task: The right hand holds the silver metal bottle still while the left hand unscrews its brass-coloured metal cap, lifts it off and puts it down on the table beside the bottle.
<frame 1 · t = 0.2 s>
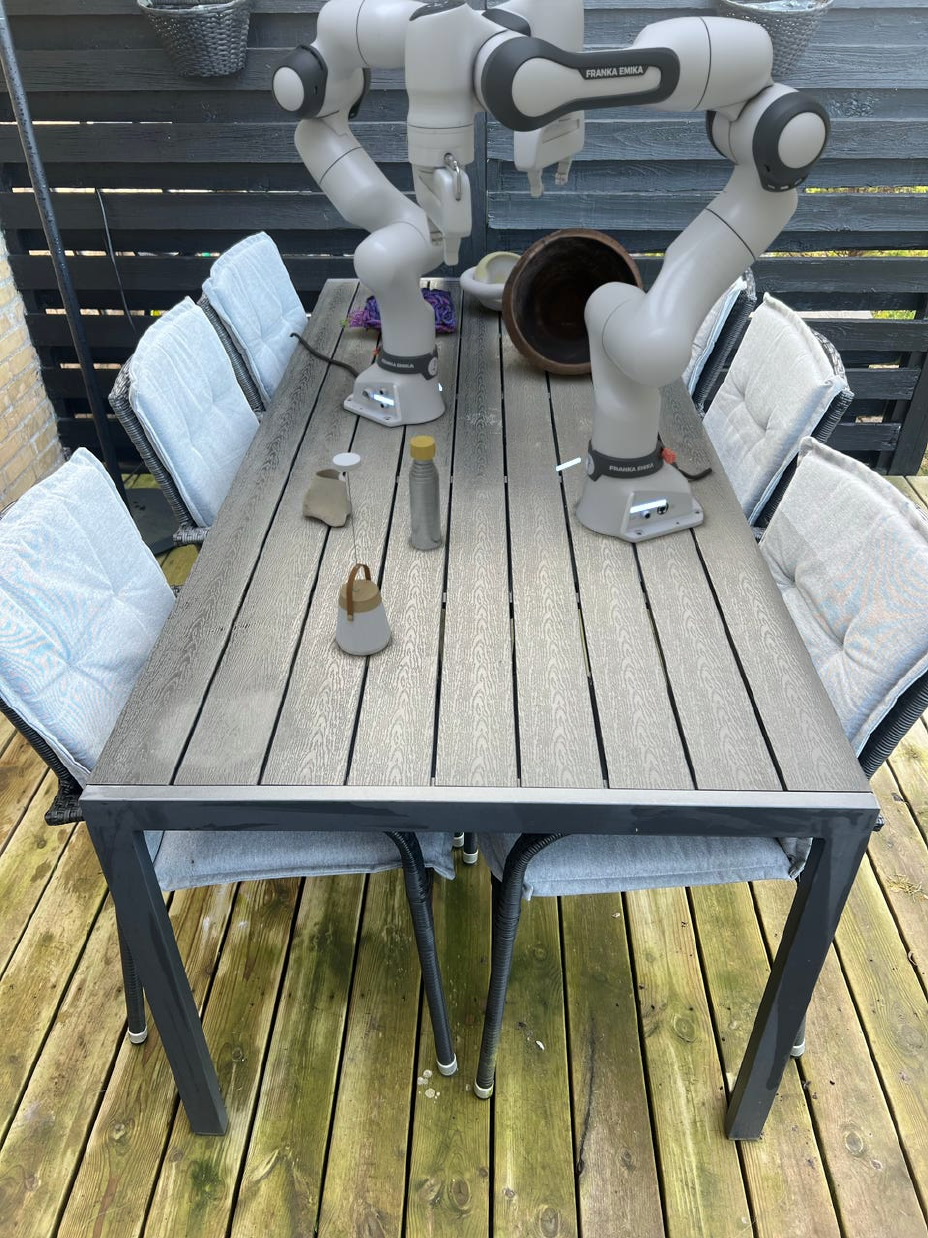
left hand: (549, 189, 161), 48 cm above the table, tool pointing down, fingers open, 8 cm apart
right hand: (443, 253, 132), 48 cm above the table, tool pointing down, fingers open, 8 cm apart
cap: (422, 442, 149), point 19 cm above the table, screwed on, not yet turned
pot: (568, 356, 226), on the table
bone: (327, 519, 167), on the table
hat: (500, 309, 253), on the table
pendant light: (363, 640, 139), on the table
bottle: (426, 541, 161), on the table
decorative ornament: (398, 333, 239), on the table
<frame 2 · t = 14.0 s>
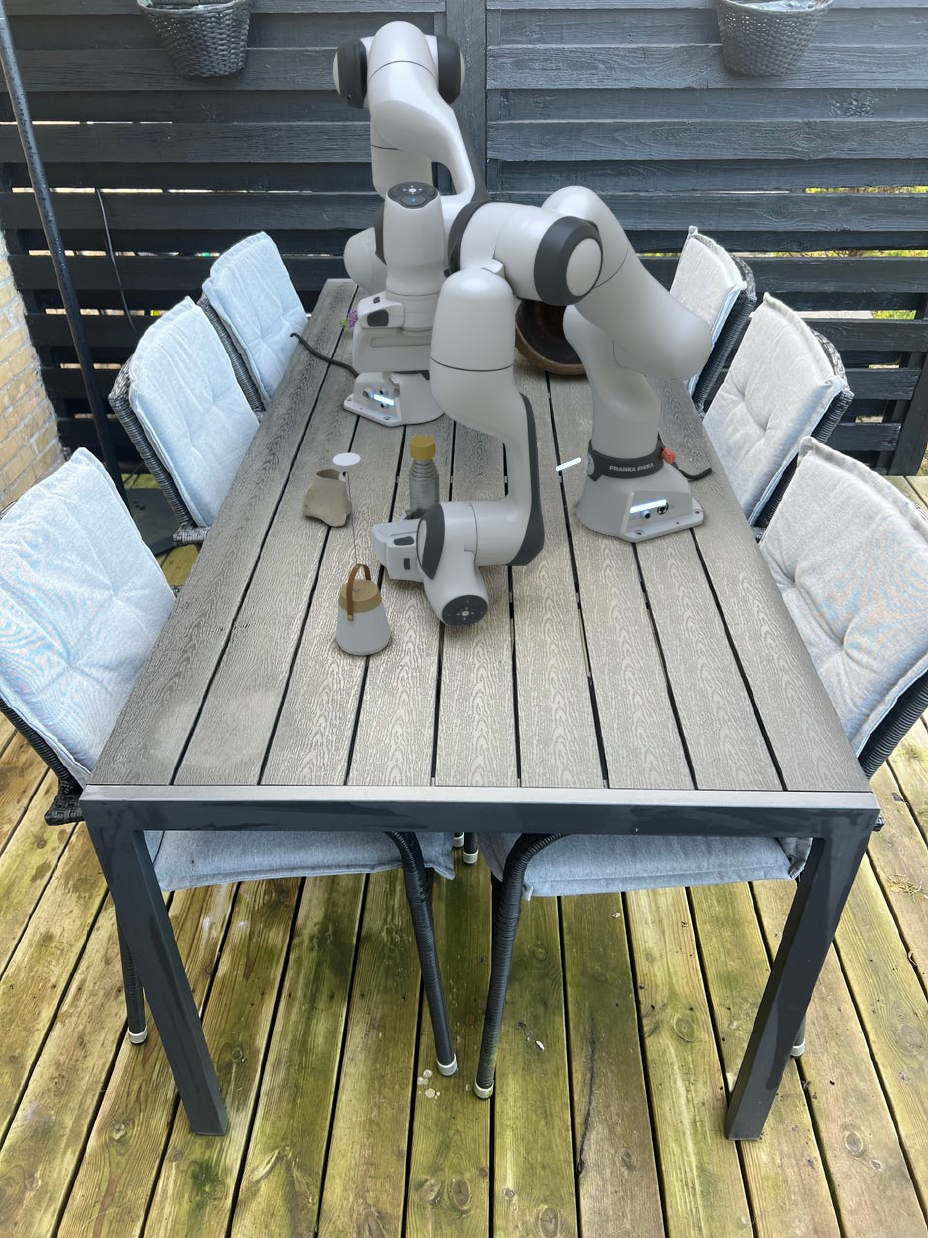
left hand: (420, 395, 144), 27 cm above the table, tool pointing down, fingers open, 6 cm apart
right hand: (424, 511, 158), 6 cm above the table, tool horizontal, fingers closed on bottle, 5 cm apart
bottle: (426, 541, 161), on the table, touching right hand
everything else where it was.
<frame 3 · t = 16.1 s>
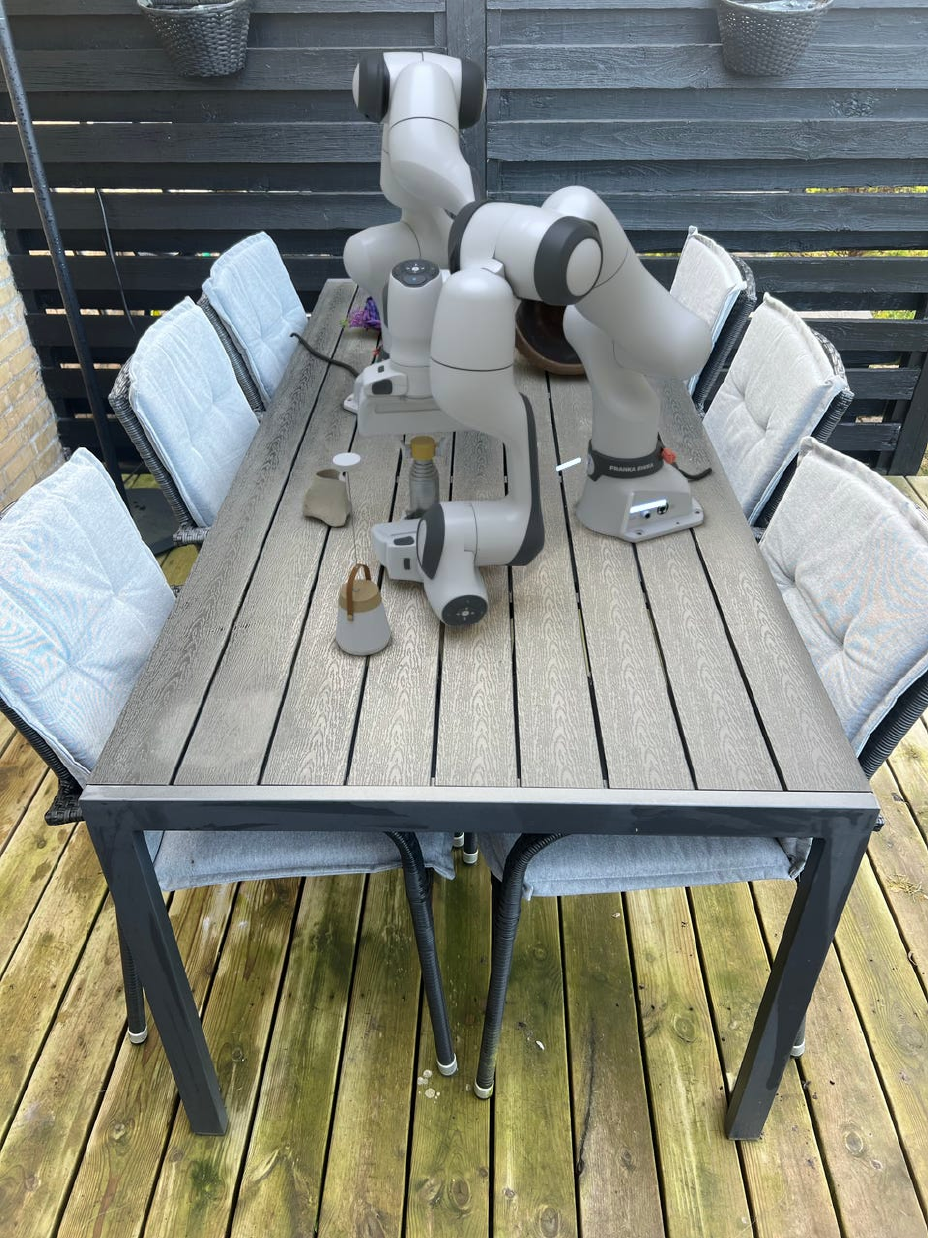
left hand: (422, 455, 151), 17 cm above the table, tool pointing down, fingers closed on cap, 4 cm apart
right hand: (423, 511, 158), 6 cm above the table, tool horizontal, fingers closed on bottle, 5 cm apart
cap: (422, 442, 149), point 19 cm above the table, screwed on, not yet turned, touching left hand
bottle: (426, 542, 161), on the table, touching right hand
everything else where it was.
when the left hand's fingers open (2 cm above the table, at t = 38.2 s): cap drops 2 cm, point 2 cm above the table.
when the right hand's fingers open (6 cm above the table, at t = 39.4 s): bottle stays where it is, on the table.
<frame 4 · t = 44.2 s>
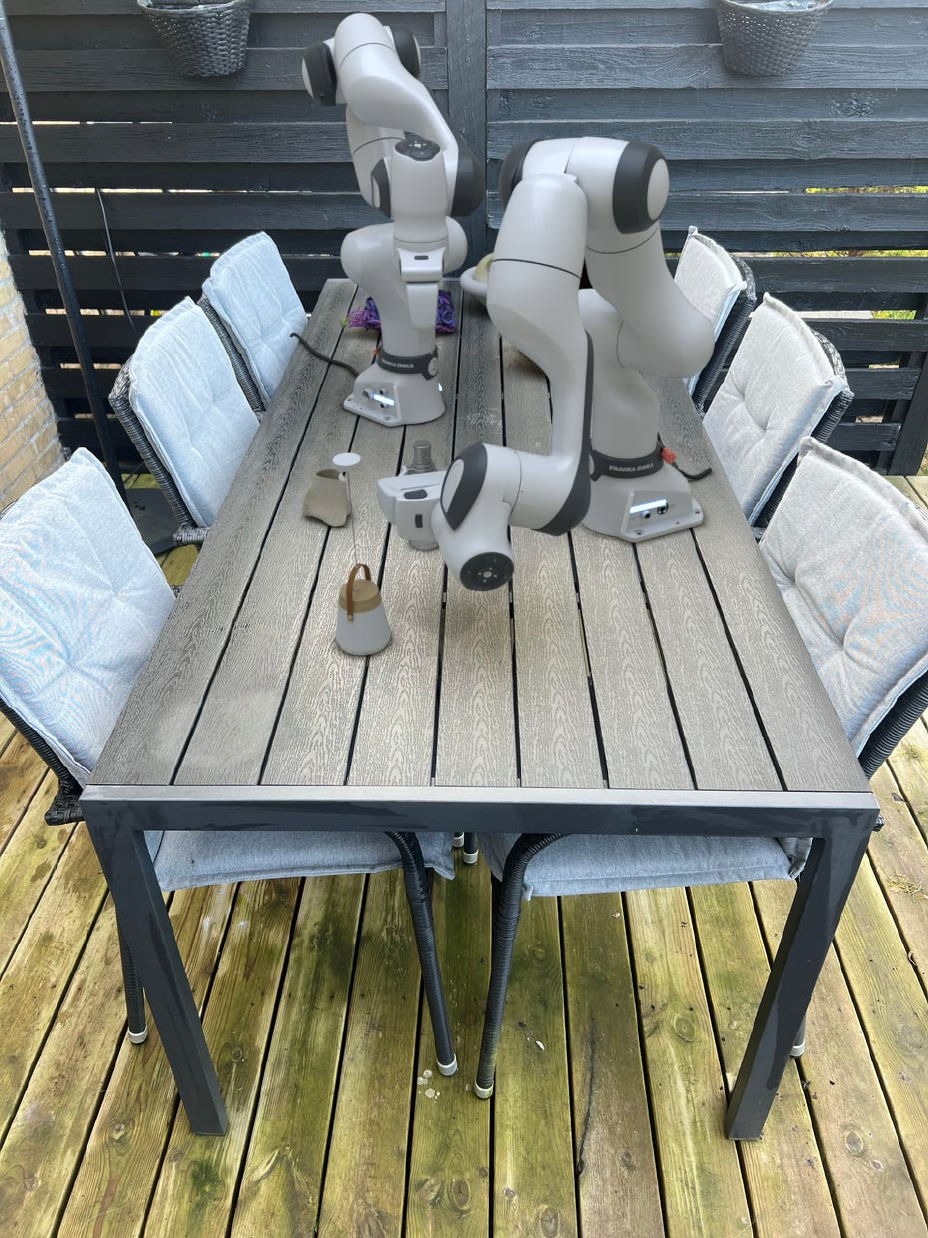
left hand: (424, 338, 157), 29 cm above the table, tool pointing down, fingers open, 8 cm apart
right hand: (437, 465, 139), 21 cm above the table, tool horizontal, fingers open, 8 cm apart
cap: (429, 479, 174), point 2 cm above the table, off its thread
bottle: (426, 542, 161), on the table
everything else where it was.
at the end: cap came off its thread; cap point 2.1 cm above the table; the left hand is holding nothing; the right hand is holding nothing; bottle tilted 0°; bottle moved 0.1 cm from its start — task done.
